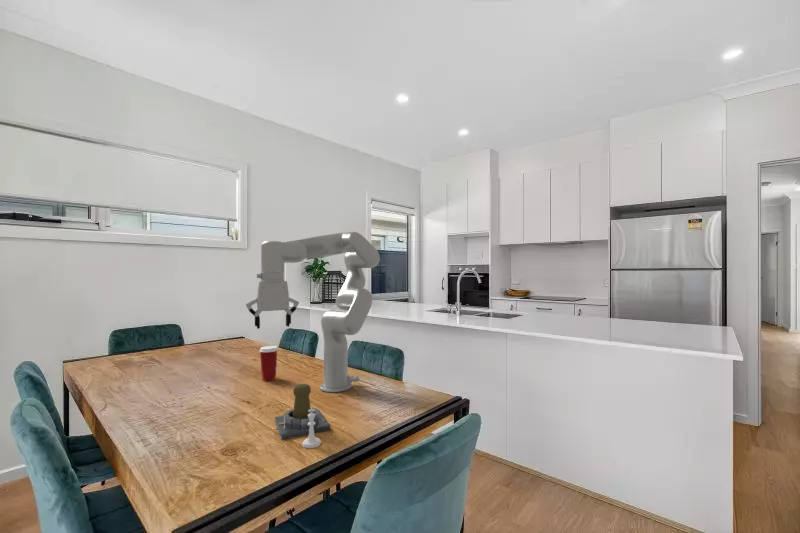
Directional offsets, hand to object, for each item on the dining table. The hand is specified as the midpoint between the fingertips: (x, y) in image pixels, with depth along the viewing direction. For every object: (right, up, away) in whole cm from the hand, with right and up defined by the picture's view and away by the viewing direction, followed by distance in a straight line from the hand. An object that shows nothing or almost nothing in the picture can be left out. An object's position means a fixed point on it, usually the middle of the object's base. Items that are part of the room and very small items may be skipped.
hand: (273, 327), depth 131 cm
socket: (+13, -28, -14) cm, 34 cm away
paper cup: (-14, -29, +36) cm, 48 cm away
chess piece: (+19, -28, -26) cm, 43 cm away
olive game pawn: (+13, -27, -14) cm, 33 cm away
